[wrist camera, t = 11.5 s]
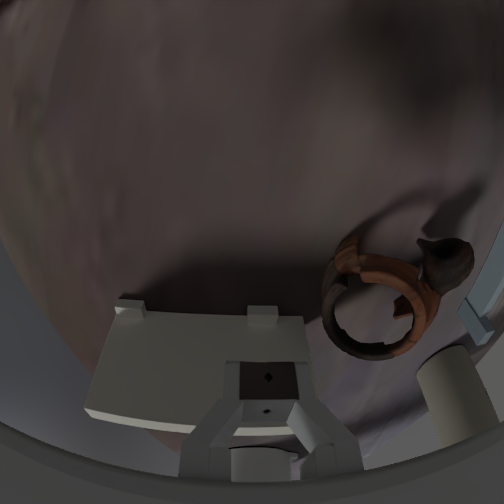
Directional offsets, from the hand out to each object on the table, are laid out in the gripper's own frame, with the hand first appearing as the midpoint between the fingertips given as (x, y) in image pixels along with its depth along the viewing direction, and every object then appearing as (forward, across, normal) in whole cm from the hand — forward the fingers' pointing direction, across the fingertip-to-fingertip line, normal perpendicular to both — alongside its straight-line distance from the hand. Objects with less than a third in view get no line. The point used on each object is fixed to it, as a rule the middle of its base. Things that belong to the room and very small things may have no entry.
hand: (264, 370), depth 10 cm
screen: (+11, +3, +9) cm, 15 cm away
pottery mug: (+12, -10, +3) cm, 16 cm away
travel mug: (+12, -27, +19) cm, 35 cm away
